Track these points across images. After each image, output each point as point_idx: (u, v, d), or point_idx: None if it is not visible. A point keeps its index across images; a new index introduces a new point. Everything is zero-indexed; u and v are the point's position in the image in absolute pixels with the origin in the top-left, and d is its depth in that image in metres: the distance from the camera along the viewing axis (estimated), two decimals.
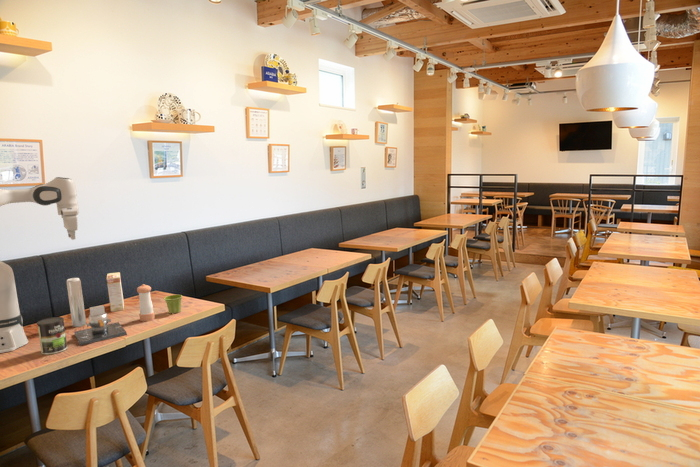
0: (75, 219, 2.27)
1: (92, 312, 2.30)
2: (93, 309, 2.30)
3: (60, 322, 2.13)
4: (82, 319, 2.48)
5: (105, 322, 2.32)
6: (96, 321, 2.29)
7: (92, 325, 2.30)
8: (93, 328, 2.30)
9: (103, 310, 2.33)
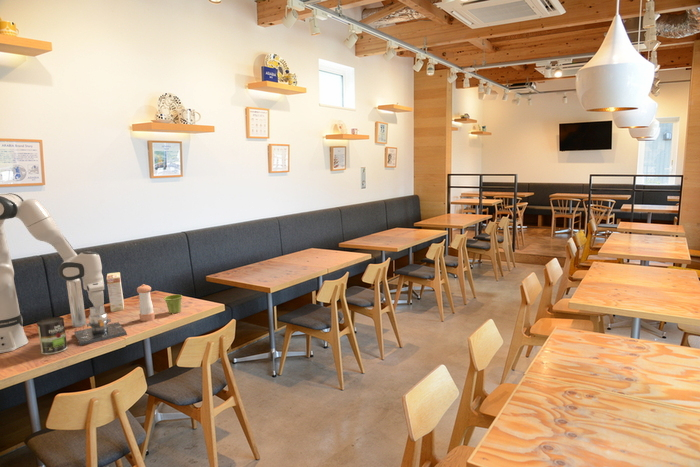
0: (101, 295, 2.24)
1: (92, 312, 2.30)
2: (93, 309, 2.30)
3: (60, 322, 2.13)
4: (82, 319, 2.48)
5: (105, 322, 2.32)
6: (96, 321, 2.29)
7: (92, 325, 2.30)
8: (93, 328, 2.30)
9: (103, 310, 2.33)
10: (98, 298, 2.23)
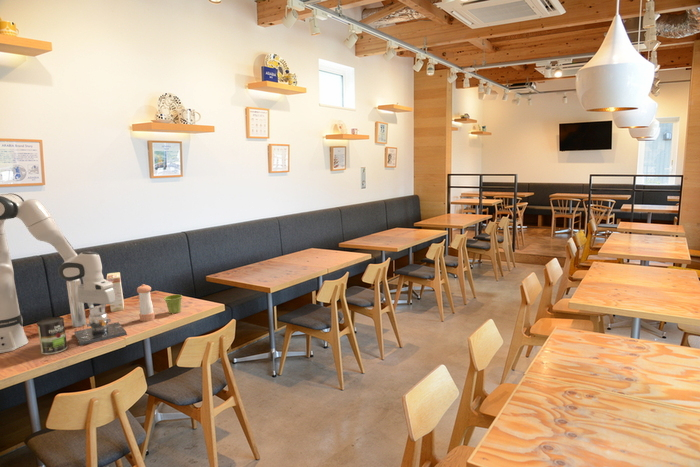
0: (113, 291, 2.30)
1: (92, 312, 2.30)
2: (93, 309, 2.30)
3: (60, 322, 2.13)
4: (82, 319, 2.48)
5: (105, 322, 2.33)
6: (97, 321, 2.29)
7: (93, 325, 2.30)
8: (93, 328, 2.30)
9: None
10: (111, 295, 2.28)
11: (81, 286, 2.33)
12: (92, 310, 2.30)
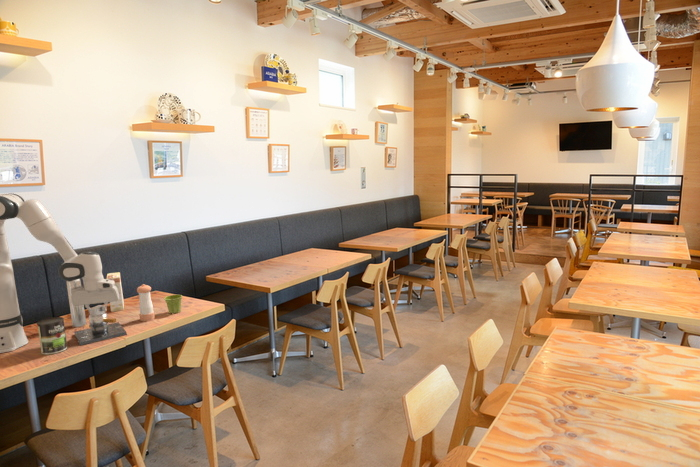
0: (117, 289, 2.35)
1: (95, 312, 2.30)
2: (96, 309, 2.30)
3: (60, 322, 2.13)
4: (82, 319, 2.48)
5: None
6: (102, 320, 2.31)
7: (97, 325, 2.30)
8: (93, 328, 2.30)
9: None
10: (117, 292, 2.34)
11: (76, 289, 2.28)
12: (95, 310, 2.30)
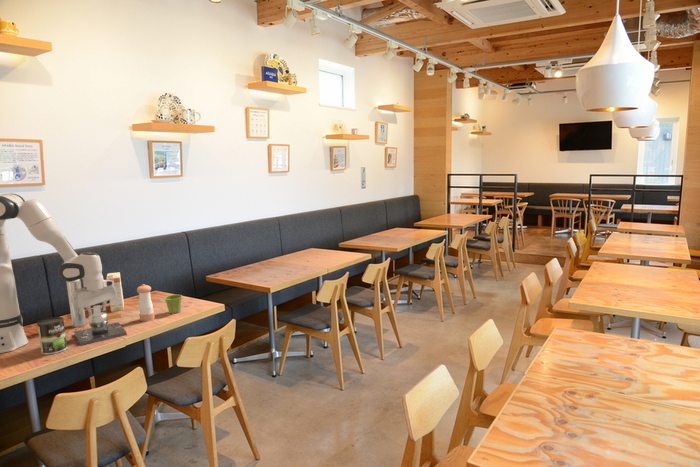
0: None
1: (100, 311, 2.31)
2: (100, 308, 2.31)
3: (60, 322, 2.13)
4: (82, 319, 2.48)
5: None
6: (106, 318, 2.34)
7: (104, 323, 2.32)
8: (93, 328, 2.30)
9: (100, 309, 2.35)
10: None
11: (79, 291, 2.24)
12: (100, 309, 2.31)
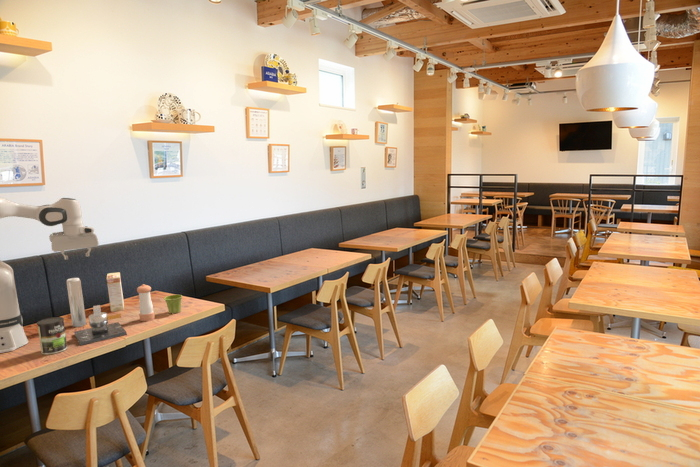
0: None
1: (100, 311, 2.31)
2: (100, 308, 2.32)
3: (60, 322, 2.13)
4: (82, 319, 2.48)
5: None
6: (106, 318, 2.34)
7: (104, 323, 2.32)
8: (93, 328, 2.30)
9: (100, 309, 2.35)
10: None
11: (55, 235, 2.31)
12: (100, 309, 2.31)
